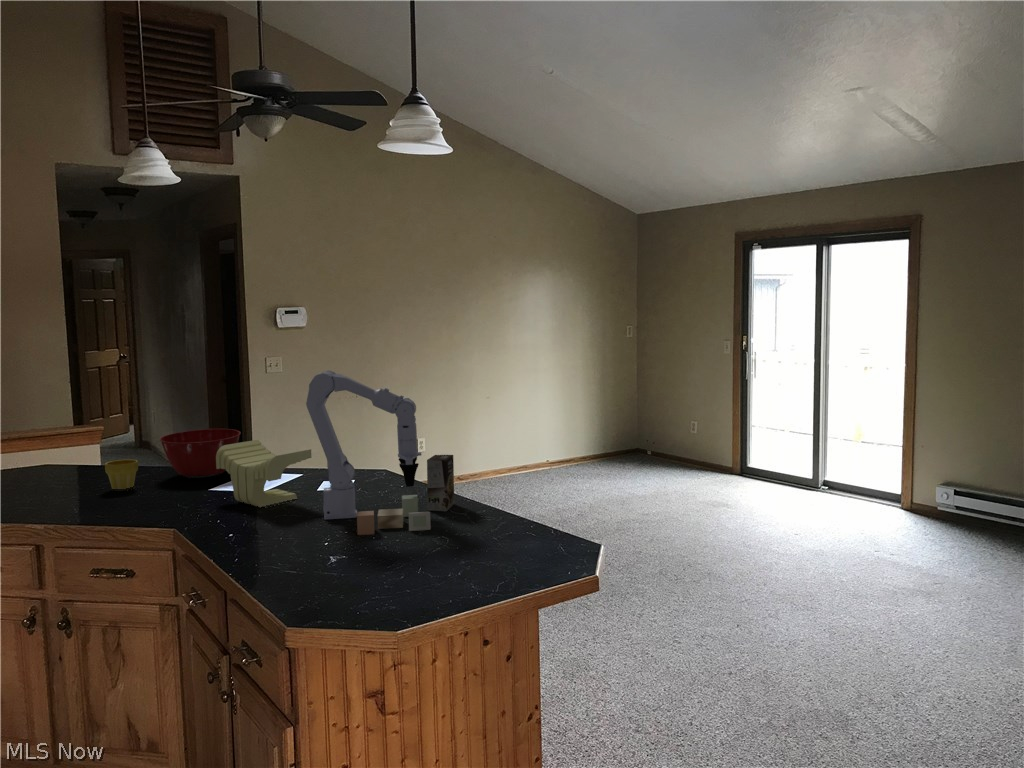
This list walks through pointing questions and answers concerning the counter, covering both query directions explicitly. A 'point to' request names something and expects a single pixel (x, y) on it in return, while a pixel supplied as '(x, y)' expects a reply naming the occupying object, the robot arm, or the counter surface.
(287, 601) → the counter surface
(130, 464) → the plant pot
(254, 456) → the slatted curved stool
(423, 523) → the placard
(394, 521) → the birch base block
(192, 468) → the mixing bowl
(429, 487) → the coffee box
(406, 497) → the sage block
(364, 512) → the terracotta block
